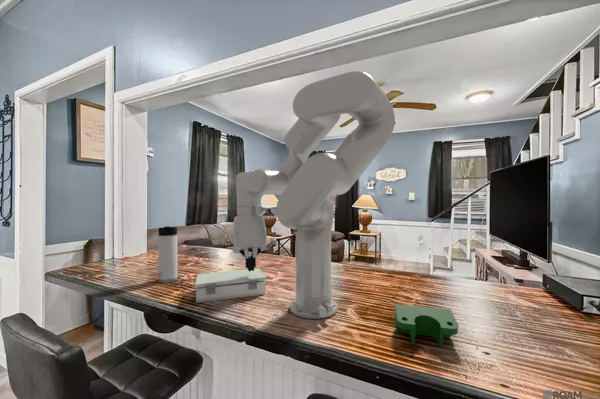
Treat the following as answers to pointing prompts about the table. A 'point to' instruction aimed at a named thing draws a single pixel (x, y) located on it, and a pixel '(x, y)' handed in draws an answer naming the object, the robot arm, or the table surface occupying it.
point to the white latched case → (230, 291)
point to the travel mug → (167, 254)
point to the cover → (229, 278)
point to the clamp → (425, 322)
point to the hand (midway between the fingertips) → (250, 270)
